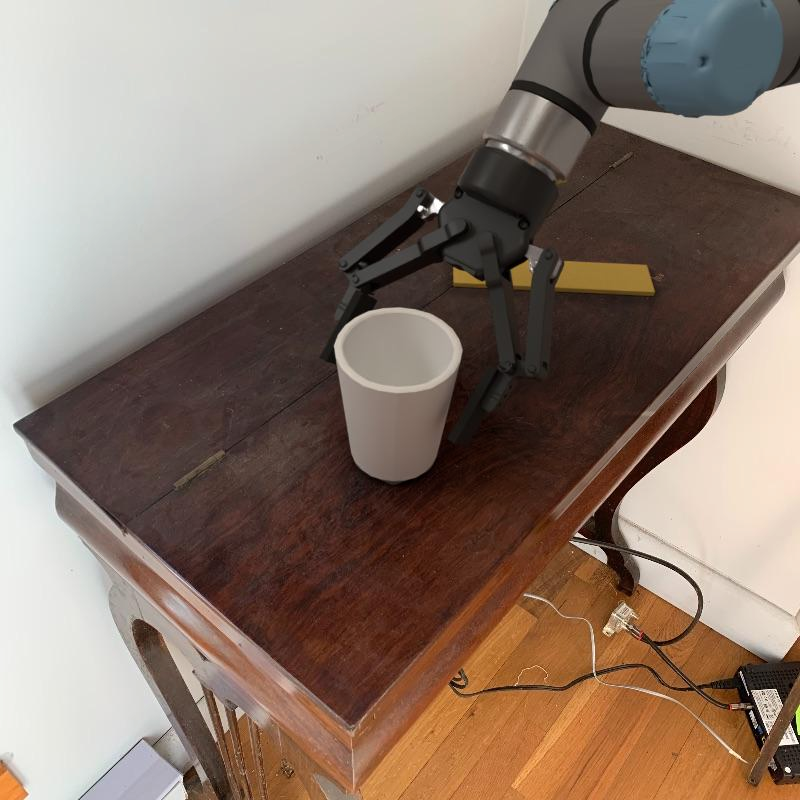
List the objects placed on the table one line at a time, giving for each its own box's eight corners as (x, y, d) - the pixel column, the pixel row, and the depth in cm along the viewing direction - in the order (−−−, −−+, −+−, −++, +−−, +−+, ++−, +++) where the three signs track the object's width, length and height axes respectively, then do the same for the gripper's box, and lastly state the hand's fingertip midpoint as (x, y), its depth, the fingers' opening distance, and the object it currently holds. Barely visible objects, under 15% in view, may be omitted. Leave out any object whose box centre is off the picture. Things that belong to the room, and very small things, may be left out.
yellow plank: (645, 269, 91) (647, 264, 91) (653, 296, 88) (655, 292, 88) (452, 259, 91) (453, 255, 91) (453, 286, 88) (453, 282, 88)
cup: (448, 415, 74) (460, 308, 65) (451, 500, 68) (465, 394, 58) (341, 411, 74) (338, 303, 65) (333, 496, 67) (328, 389, 58)
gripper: (670, 243, 61) (531, 481, 64) (417, 132, 72) (307, 340, 74) (656, 211, 54) (501, 479, 57) (379, 93, 65) (259, 324, 68)
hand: (390, 401), depth 66 cm, fingers open, 13 cm apart
